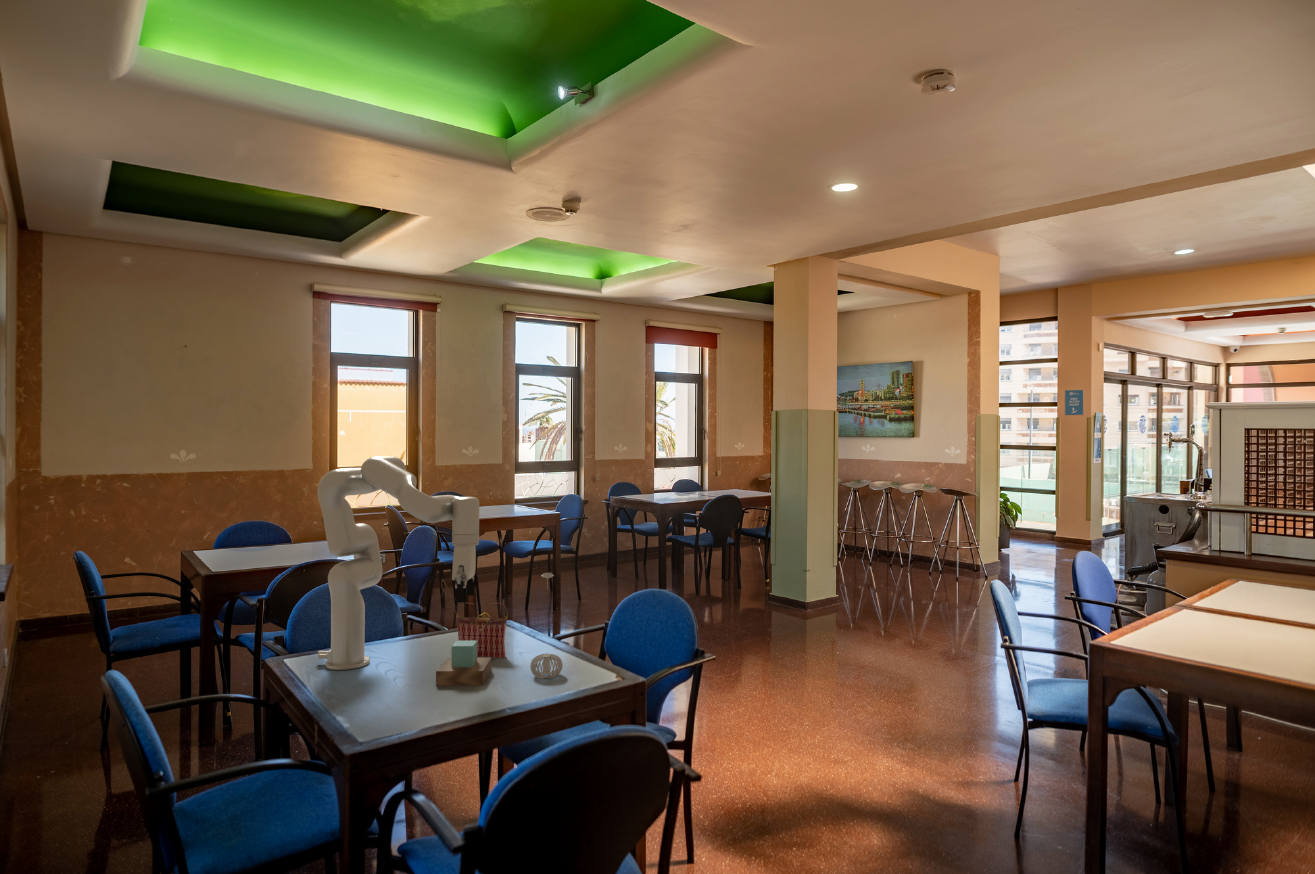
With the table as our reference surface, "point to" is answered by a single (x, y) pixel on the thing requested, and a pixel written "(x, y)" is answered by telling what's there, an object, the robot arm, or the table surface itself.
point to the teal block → (464, 653)
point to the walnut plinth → (463, 673)
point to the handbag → (483, 633)
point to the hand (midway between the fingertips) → (464, 598)
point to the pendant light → (546, 657)
